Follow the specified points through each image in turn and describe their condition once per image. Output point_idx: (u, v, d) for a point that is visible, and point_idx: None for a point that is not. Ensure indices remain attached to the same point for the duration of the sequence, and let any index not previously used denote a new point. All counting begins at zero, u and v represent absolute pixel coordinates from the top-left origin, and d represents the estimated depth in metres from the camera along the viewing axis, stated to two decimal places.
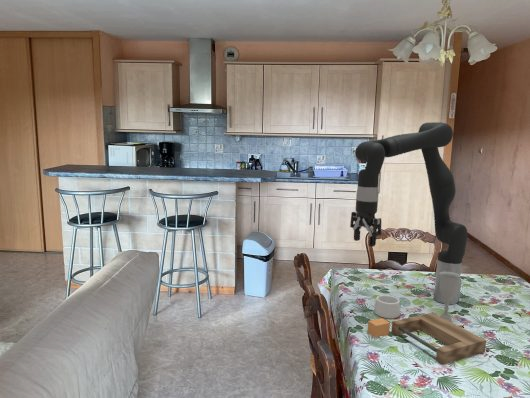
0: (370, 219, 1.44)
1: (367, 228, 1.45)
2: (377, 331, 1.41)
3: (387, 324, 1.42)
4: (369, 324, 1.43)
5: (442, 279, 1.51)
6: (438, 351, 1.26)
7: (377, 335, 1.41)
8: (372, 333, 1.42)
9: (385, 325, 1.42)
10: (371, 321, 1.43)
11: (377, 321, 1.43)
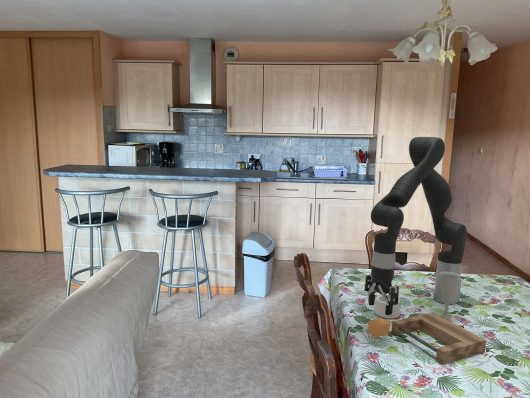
0: (387, 287, 1.37)
1: (383, 296, 1.37)
2: (377, 331, 1.41)
3: (387, 324, 1.42)
4: (369, 324, 1.43)
5: (442, 279, 1.51)
6: (438, 351, 1.26)
7: (377, 335, 1.41)
8: (372, 333, 1.42)
9: (385, 325, 1.42)
10: (371, 321, 1.43)
11: (377, 321, 1.43)
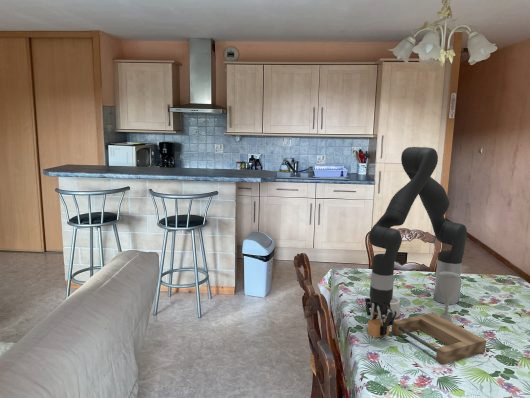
0: (385, 311, 1.38)
1: (380, 317, 1.40)
2: (377, 331, 1.41)
3: None
4: (369, 324, 1.43)
5: (442, 279, 1.51)
6: (438, 351, 1.26)
7: (377, 335, 1.41)
8: (372, 332, 1.42)
9: None
10: (371, 321, 1.43)
11: (377, 321, 1.43)
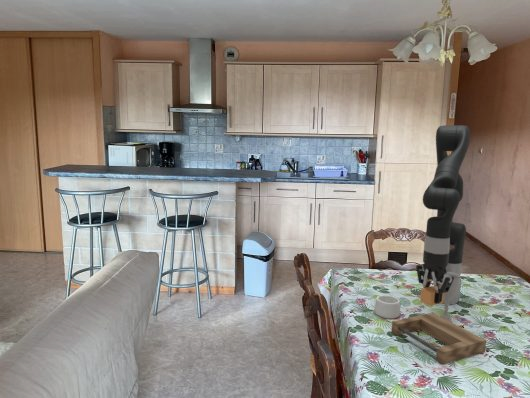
0: (441, 276, 1.30)
1: (434, 283, 1.32)
2: (432, 298, 1.33)
3: None
4: (422, 291, 1.35)
5: None
6: (438, 351, 1.26)
7: (431, 303, 1.33)
8: (426, 300, 1.34)
9: None
10: (424, 288, 1.35)
11: (431, 289, 1.35)
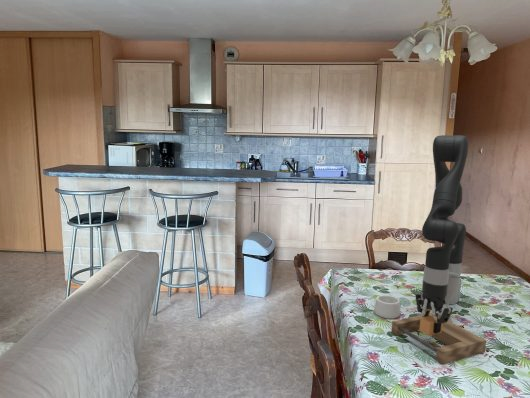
0: (440, 307, 1.32)
1: (434, 313, 1.33)
2: (431, 328, 1.34)
3: None
4: (421, 321, 1.36)
5: None
6: (438, 351, 1.26)
7: (430, 332, 1.34)
8: (425, 330, 1.35)
9: None
10: (423, 318, 1.36)
11: (430, 318, 1.36)
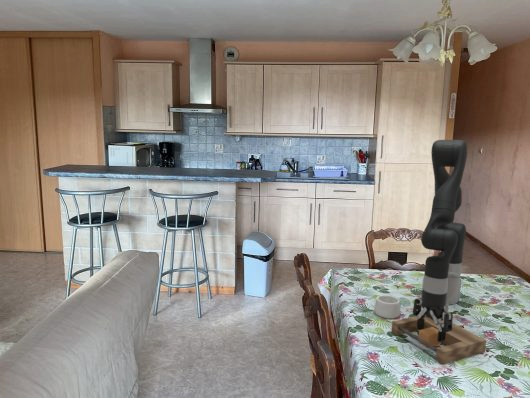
0: (439, 312, 1.32)
1: (436, 322, 1.33)
2: (430, 341, 1.35)
3: None
4: (420, 333, 1.37)
5: None
6: (438, 351, 1.26)
7: None
8: None
9: (437, 335, 1.36)
10: (422, 330, 1.37)
11: (428, 331, 1.37)
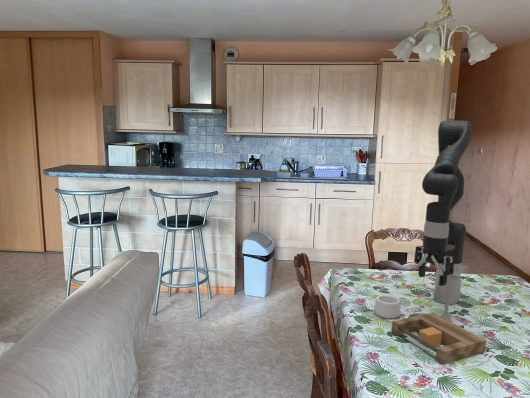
0: (441, 257, 1.33)
1: (437, 266, 1.34)
2: (430, 341, 1.35)
3: (439, 334, 1.36)
4: (420, 333, 1.37)
5: None
6: (438, 351, 1.26)
7: None
8: None
9: (437, 335, 1.36)
10: (422, 330, 1.37)
11: (428, 331, 1.37)
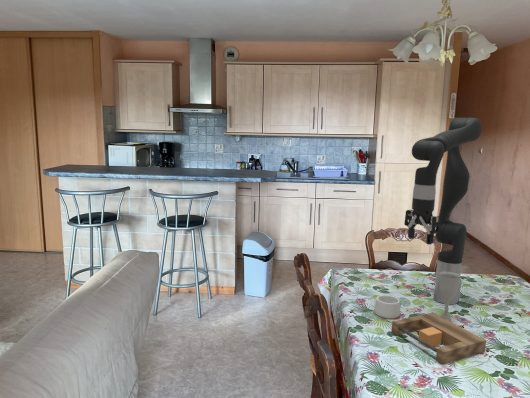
0: (428, 217, 1.45)
1: (425, 226, 1.46)
2: (430, 341, 1.35)
3: (439, 334, 1.36)
4: (420, 333, 1.37)
5: (442, 279, 1.51)
6: (438, 351, 1.26)
7: None
8: None
9: (437, 335, 1.36)
10: (422, 330, 1.37)
11: (428, 331, 1.37)
